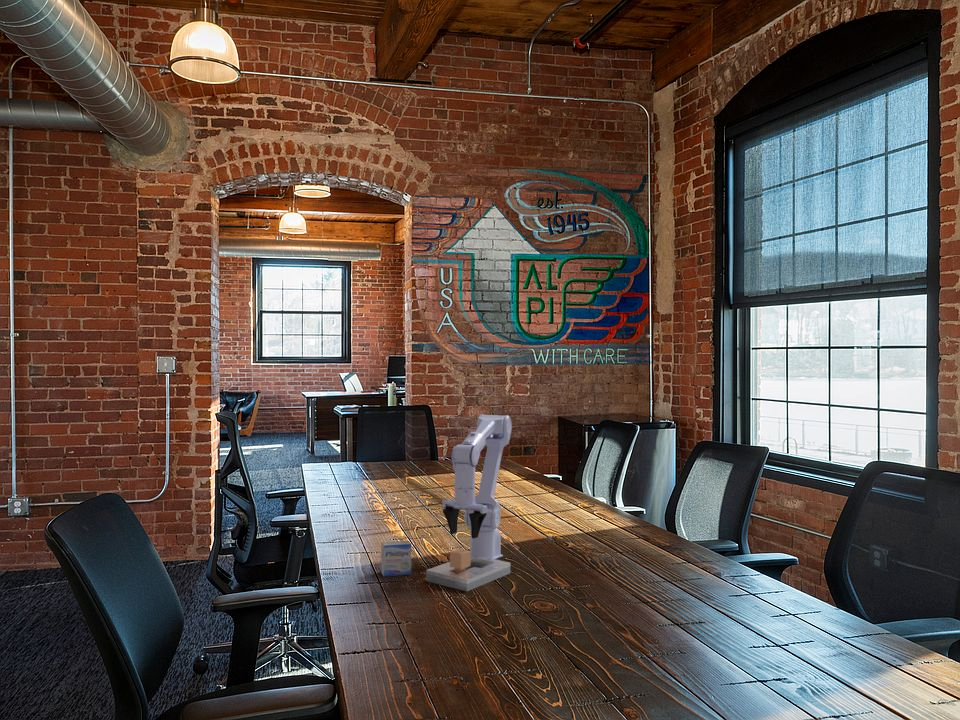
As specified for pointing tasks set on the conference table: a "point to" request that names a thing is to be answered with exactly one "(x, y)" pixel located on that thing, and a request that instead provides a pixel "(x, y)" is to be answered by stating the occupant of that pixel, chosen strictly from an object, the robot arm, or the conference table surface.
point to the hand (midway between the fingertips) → (464, 535)
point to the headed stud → (460, 559)
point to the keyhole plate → (469, 573)
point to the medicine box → (396, 558)
